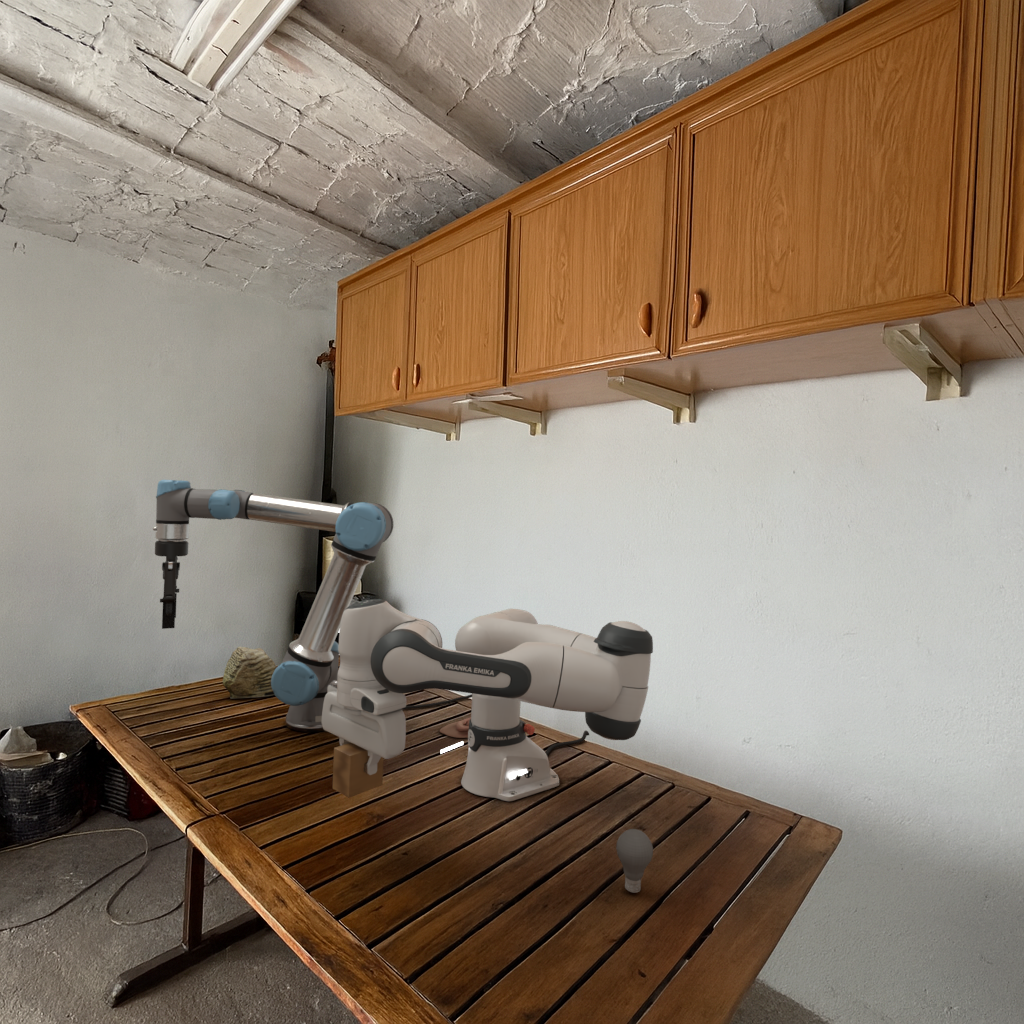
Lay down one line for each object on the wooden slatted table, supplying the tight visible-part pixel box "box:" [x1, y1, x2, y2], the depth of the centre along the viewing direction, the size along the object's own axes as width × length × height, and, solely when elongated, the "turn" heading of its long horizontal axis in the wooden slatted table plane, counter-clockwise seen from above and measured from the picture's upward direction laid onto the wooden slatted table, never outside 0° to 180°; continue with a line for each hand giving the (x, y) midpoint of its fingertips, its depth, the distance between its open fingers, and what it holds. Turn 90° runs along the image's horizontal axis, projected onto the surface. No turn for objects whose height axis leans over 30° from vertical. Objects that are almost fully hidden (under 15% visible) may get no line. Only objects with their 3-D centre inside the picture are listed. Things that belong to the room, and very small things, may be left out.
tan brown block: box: [332, 743, 384, 799], centre depth 113 cm, size 5×7×7 cm
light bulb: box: [615, 828, 654, 894], centre depth 106 cm, size 6×6×10 cm
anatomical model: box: [439, 716, 471, 739], centre depth 175 cm, size 13×4×12 cm
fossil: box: [222, 646, 277, 699], centre depth 198 cm, size 9×18×15 cm, turn 132°
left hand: (169, 623), depth 162 cm, fingers open, 13 cm apart
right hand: (359, 767), depth 113 cm, fingers closed on tan brown block, 5 cm apart
